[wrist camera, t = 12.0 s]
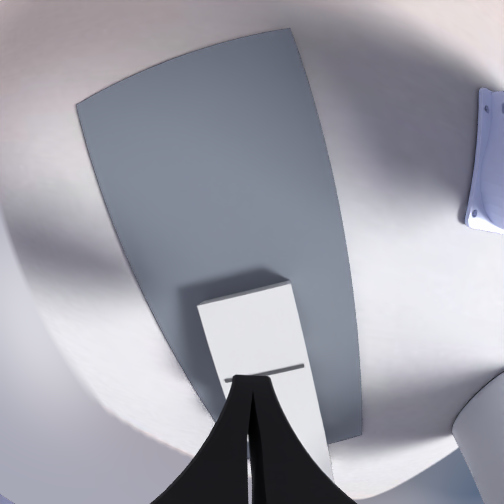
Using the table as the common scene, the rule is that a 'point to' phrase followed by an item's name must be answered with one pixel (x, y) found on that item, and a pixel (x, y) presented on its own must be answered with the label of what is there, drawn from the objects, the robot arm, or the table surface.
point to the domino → (264, 347)
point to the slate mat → (230, 205)
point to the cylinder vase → (484, 439)
